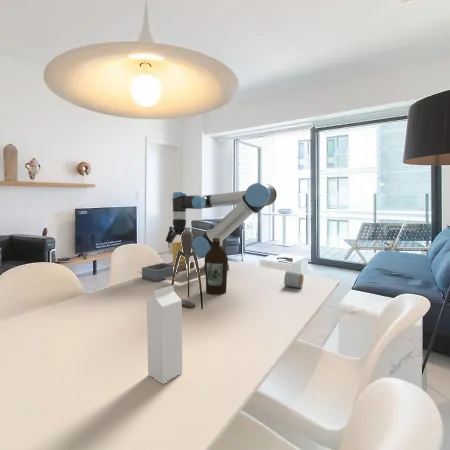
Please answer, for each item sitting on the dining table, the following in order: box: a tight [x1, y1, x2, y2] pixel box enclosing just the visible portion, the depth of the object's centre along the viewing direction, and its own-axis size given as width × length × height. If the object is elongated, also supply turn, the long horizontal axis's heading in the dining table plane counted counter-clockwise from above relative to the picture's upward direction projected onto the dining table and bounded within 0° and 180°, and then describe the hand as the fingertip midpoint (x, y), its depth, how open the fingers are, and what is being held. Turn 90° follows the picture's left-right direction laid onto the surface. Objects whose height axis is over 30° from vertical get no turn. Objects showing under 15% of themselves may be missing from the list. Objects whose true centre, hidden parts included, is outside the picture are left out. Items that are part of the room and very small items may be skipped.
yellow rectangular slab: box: [172, 240, 185, 264], centre depth 177 cm, size 2×9×16 cm, turn 146°
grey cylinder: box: [283, 270, 304, 289], centre depth 150 cm, size 11×8×8 cm
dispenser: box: [166, 261, 195, 273], centre depth 178 cm, size 10×14×6 cm
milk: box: [146, 285, 183, 383], centre depth 74 cm, size 6×6×22 cm
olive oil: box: [204, 238, 229, 296], centre depth 139 cm, size 11×11×25 cm
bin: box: [141, 262, 179, 283], centre depth 164 cm, size 12×15×6 cm
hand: (179, 255), depth 177 cm, fingers open, 13 cm apart
